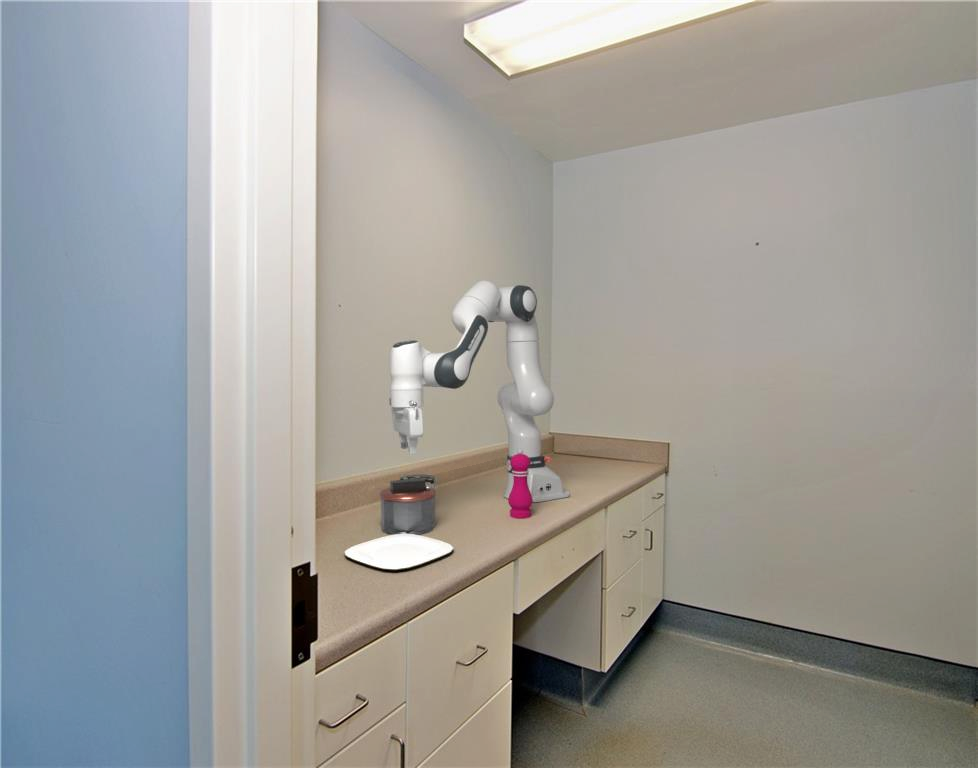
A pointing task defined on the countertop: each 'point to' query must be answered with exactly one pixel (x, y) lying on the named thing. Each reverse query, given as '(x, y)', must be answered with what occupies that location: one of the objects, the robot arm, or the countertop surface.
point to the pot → (408, 517)
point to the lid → (407, 491)
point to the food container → (428, 479)
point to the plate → (398, 551)
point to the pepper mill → (520, 487)
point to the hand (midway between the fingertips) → (408, 450)
